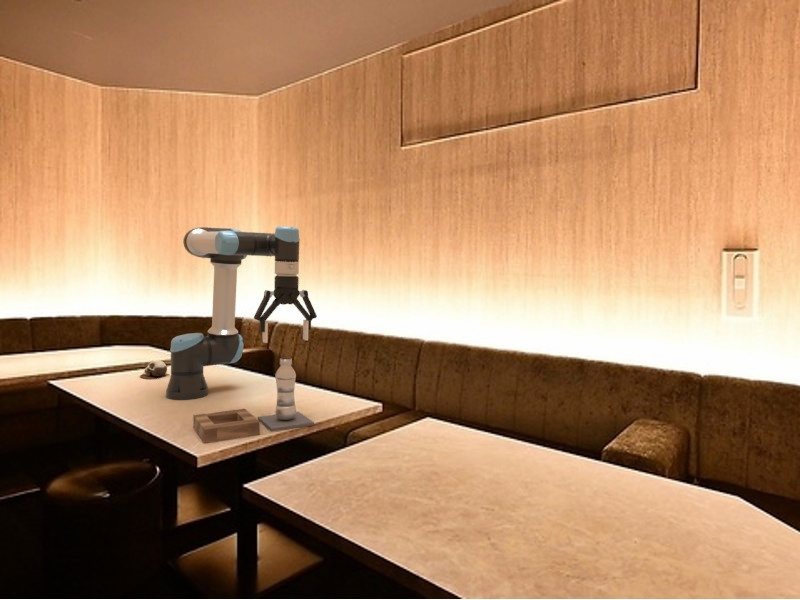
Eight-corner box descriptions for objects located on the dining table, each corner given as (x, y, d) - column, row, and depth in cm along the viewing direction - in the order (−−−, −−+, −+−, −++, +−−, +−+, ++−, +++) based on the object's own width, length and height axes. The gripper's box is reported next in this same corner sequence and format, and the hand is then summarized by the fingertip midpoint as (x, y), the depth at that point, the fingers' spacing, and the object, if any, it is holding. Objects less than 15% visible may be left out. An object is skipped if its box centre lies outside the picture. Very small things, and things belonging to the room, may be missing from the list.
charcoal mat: (257, 419, 175) (257, 416, 175) (298, 414, 183) (298, 411, 183) (271, 431, 164) (271, 428, 163) (313, 425, 171) (314, 422, 171)
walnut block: (193, 427, 166) (193, 415, 165) (244, 420, 174) (244, 408, 174) (204, 443, 152) (204, 429, 152) (259, 434, 161) (259, 421, 160)
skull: (132, 376, 231) (142, 356, 237) (145, 388, 238) (155, 368, 245) (155, 377, 227) (165, 357, 234) (168, 389, 235) (177, 369, 241)
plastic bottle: (291, 423, 169) (291, 361, 168) (271, 421, 171) (271, 359, 169) (299, 417, 176) (299, 357, 174) (280, 415, 177) (280, 356, 176)
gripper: (251, 275, 160) (250, 345, 162) (327, 276, 173) (326, 340, 175) (244, 274, 166) (243, 341, 168) (318, 275, 180) (317, 337, 181)
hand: (285, 341), depth 172 cm, fingers open, 13 cm apart
